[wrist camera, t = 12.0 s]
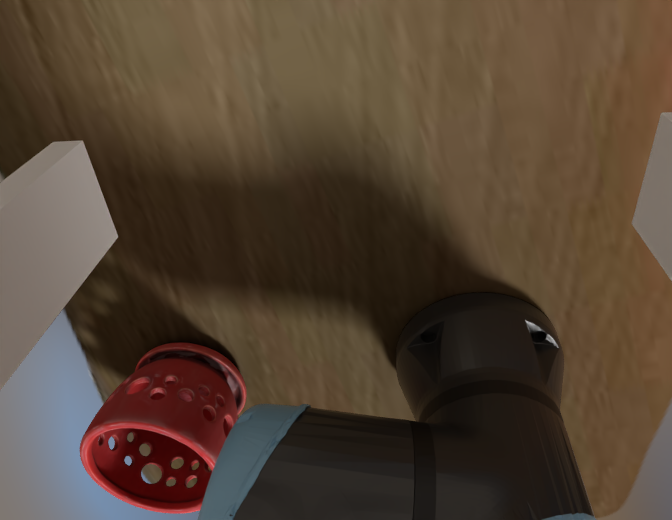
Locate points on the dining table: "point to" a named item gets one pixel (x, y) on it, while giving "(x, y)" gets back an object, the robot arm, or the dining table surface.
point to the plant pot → (165, 426)
